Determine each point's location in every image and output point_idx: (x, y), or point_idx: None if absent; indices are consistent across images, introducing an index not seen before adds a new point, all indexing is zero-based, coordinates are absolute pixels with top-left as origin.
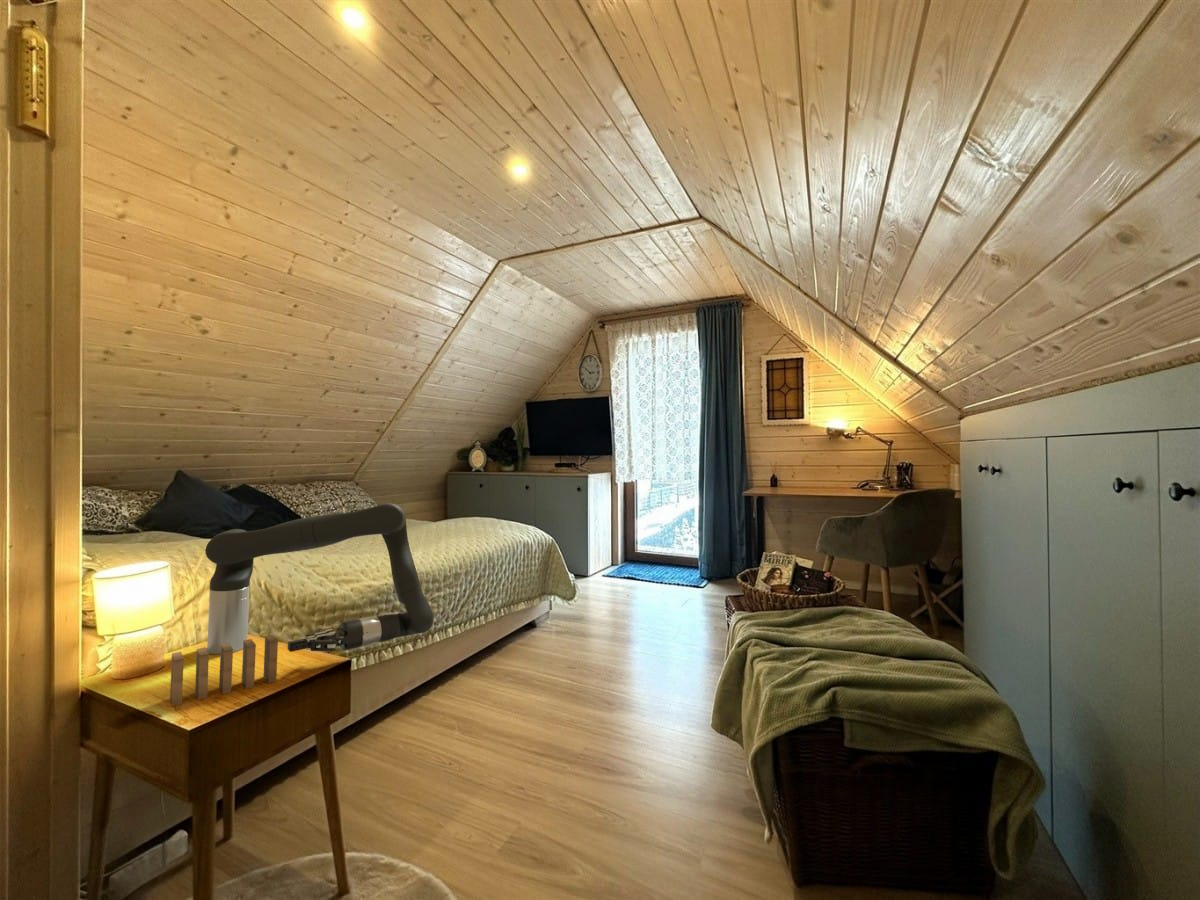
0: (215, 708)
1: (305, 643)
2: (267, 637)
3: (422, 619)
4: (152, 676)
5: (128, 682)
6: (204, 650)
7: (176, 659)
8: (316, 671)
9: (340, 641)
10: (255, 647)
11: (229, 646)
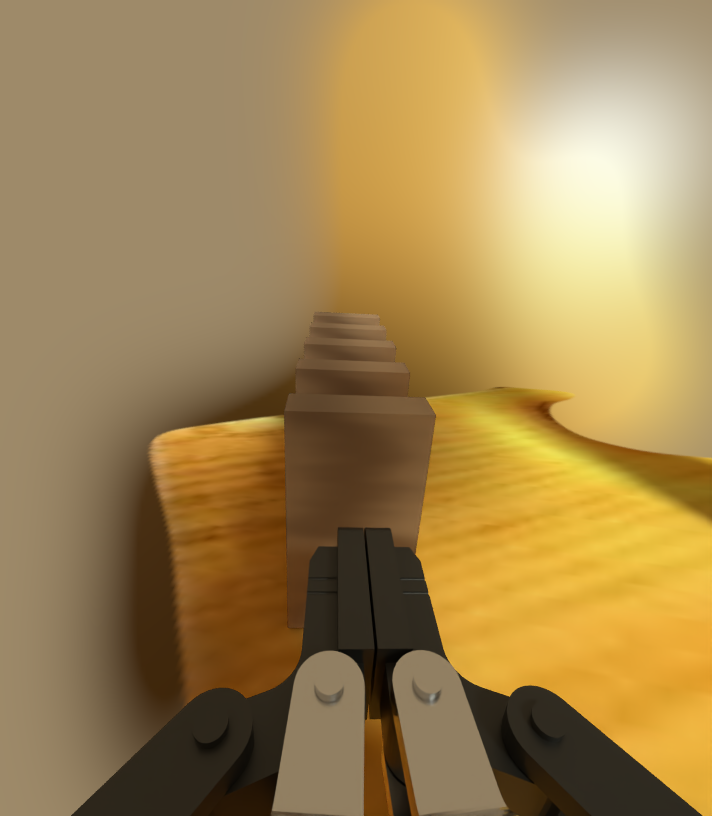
0: (219, 466)
1: (300, 658)
2: (390, 398)
3: None
4: (544, 426)
5: (517, 408)
6: (353, 327)
7: (317, 312)
8: None
9: None
10: (296, 382)
11: (345, 343)
